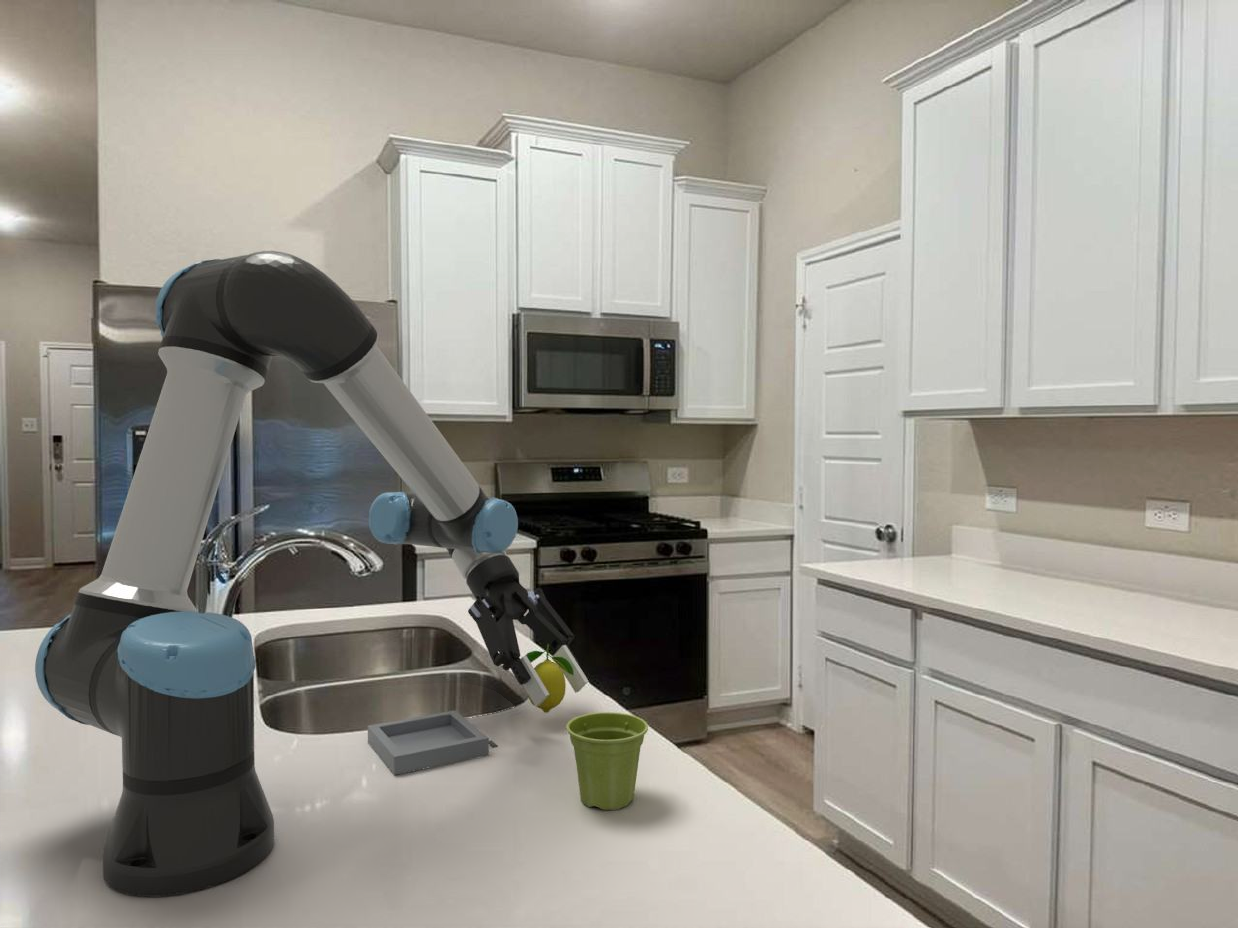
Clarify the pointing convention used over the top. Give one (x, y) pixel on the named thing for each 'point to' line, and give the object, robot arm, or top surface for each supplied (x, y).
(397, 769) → the dish
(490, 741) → the perforation strip
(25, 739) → the top surface
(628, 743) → the plant pot
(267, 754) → the top surface
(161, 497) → the robot arm
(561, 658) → the lemon
